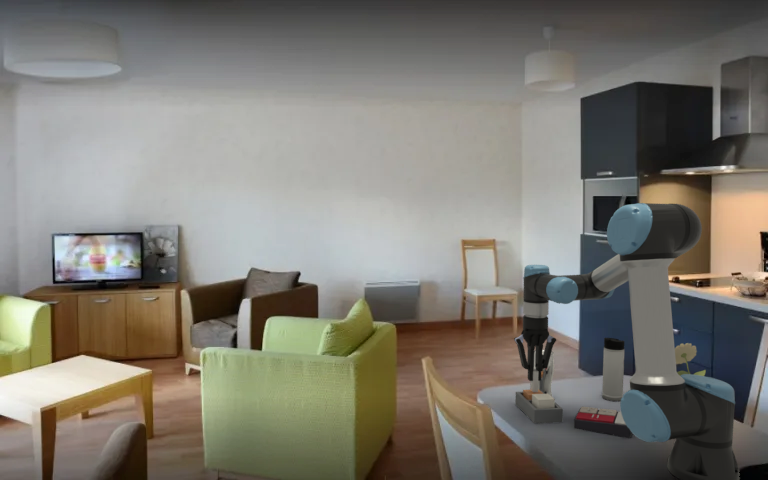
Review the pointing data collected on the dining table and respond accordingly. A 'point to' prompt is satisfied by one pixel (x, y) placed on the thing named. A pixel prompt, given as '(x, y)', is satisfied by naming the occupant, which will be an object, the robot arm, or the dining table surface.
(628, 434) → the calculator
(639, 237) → the robot arm
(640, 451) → the dining table surface
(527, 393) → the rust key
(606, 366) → the travel mug
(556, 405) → the key housing
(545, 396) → the cream key
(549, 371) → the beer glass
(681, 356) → the flower in vase
